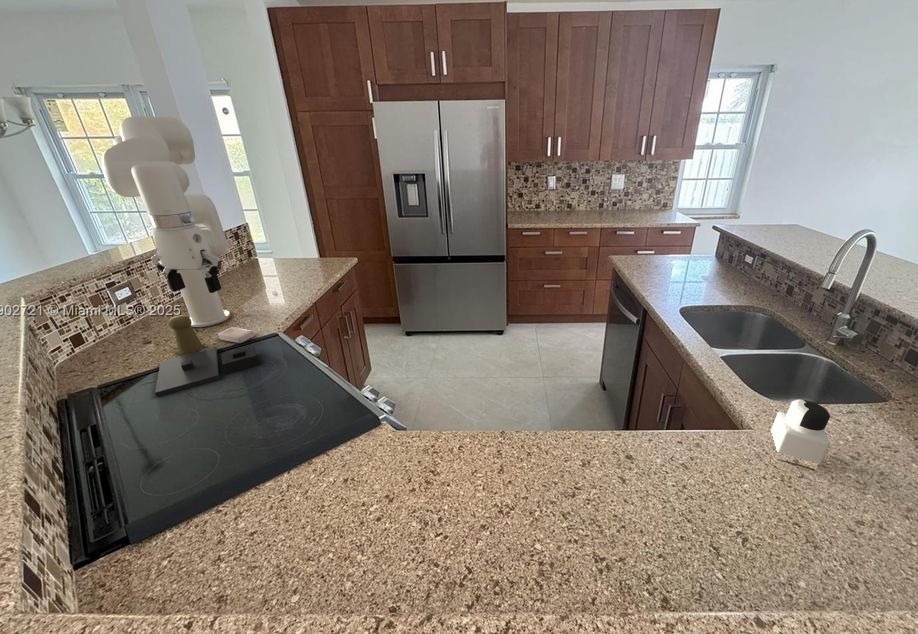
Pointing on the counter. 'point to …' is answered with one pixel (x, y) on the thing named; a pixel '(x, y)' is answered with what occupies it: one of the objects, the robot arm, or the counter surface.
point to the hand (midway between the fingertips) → (197, 290)
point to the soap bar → (236, 335)
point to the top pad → (240, 359)
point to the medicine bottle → (802, 431)
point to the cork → (185, 335)
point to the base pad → (187, 371)
